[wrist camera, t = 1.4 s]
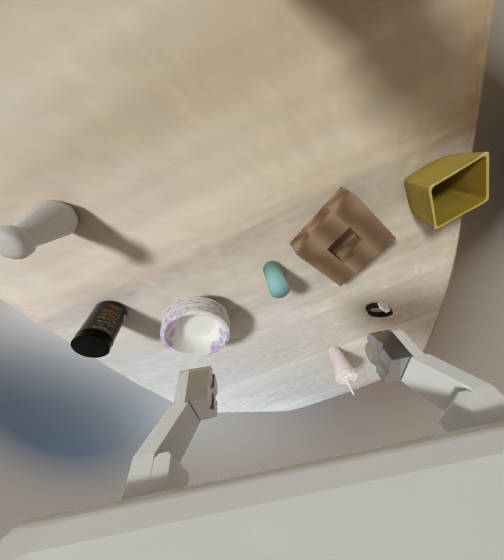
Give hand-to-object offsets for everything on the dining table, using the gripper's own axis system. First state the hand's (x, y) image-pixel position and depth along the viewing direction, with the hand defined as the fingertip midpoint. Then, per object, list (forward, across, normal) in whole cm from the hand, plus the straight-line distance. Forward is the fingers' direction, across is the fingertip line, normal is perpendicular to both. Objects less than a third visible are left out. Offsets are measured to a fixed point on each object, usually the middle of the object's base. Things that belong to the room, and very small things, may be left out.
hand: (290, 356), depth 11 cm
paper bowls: (+36, +15, +26) cm, 46 cm away
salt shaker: (+35, +30, -2) cm, 47 cm away
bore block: (+35, -19, +12) cm, 41 cm away
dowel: (+35, -4, +17) cm, 39 cm away
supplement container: (+36, +34, +20) cm, 53 cm away
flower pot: (+35, -34, +4) cm, 49 cm away
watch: (+36, -32, +36) cm, 60 cm away
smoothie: (+36, -21, +52) cm, 67 cm away
